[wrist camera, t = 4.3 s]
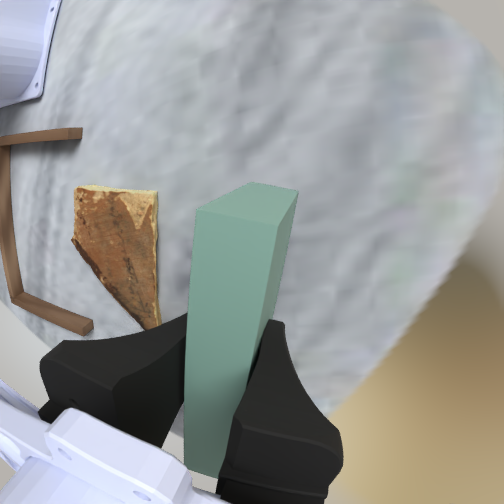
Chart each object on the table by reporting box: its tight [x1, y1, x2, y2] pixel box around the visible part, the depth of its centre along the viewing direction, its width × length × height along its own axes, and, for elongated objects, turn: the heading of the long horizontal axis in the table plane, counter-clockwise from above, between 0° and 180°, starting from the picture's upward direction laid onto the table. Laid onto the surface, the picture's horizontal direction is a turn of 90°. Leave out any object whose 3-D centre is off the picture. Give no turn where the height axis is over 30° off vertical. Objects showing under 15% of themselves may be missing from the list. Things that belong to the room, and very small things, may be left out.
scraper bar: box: [184, 182, 299, 479], centre depth 12 cm, size 12×2×6 cm, turn 171°
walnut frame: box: [0, 128, 94, 336], centre depth 21 cm, size 16×11×2 cm
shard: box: [71, 185, 162, 330], centre depth 21 cm, size 11×8×2 cm
